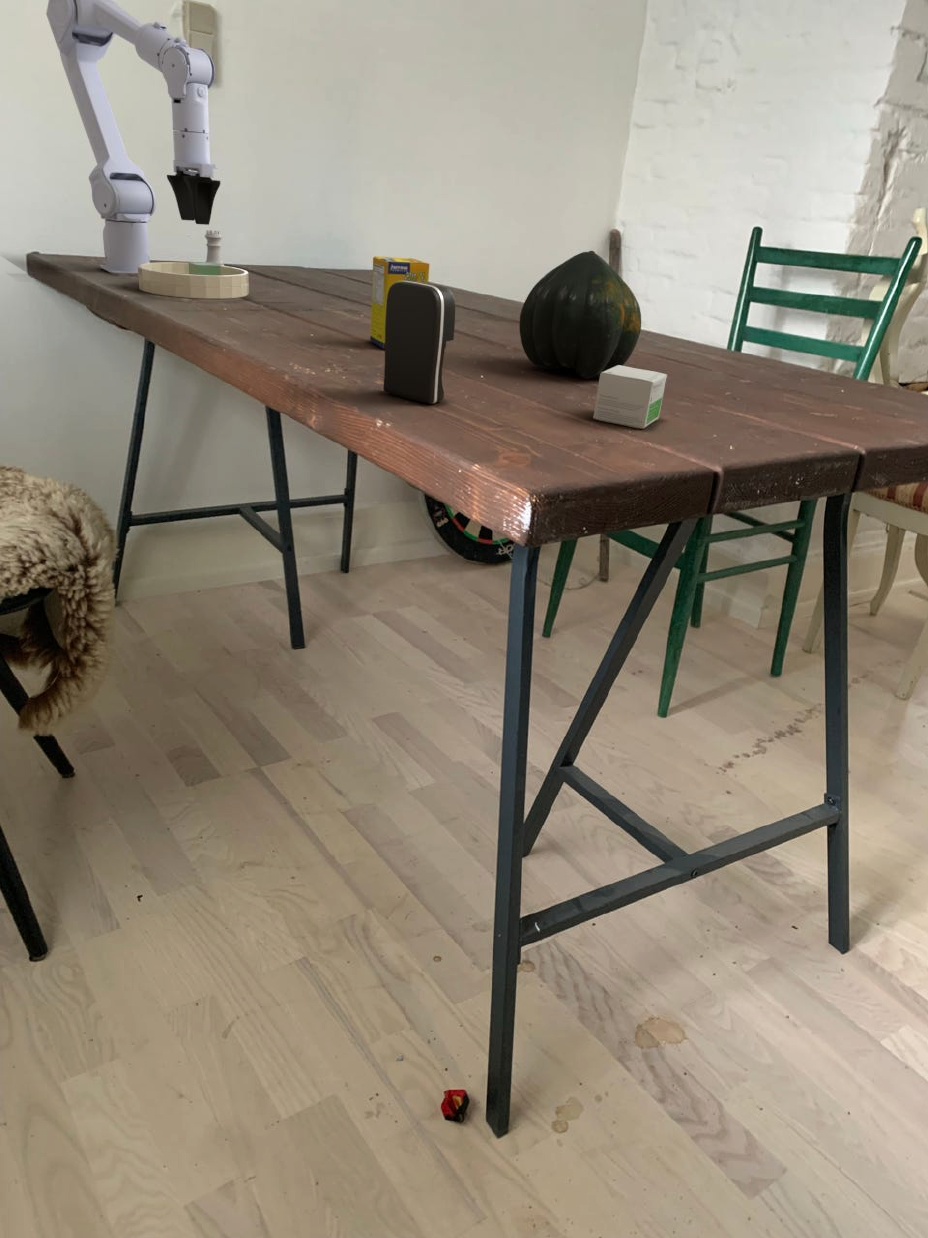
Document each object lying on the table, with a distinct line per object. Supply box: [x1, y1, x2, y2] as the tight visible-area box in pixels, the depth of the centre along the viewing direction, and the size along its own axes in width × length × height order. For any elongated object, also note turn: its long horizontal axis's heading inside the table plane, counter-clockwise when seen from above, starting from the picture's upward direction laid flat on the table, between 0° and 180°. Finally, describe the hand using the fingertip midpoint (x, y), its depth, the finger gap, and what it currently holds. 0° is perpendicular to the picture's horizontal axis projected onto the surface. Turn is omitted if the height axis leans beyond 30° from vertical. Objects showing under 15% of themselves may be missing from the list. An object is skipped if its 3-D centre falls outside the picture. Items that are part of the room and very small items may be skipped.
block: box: [188, 261, 221, 276], centre depth 151 cm, size 4×4×4 cm
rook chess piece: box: [204, 229, 225, 266], centre depth 171 cm, size 4×4×8 cm
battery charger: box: [383, 281, 456, 404], centre depth 93 cm, size 7×4×11 cm, turn 52°
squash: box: [519, 250, 642, 380], centre depth 113 cm, size 14×15×15 cm
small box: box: [592, 365, 668, 430], centre depth 93 cm, size 6×6×5 cm
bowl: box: [137, 261, 250, 300], centre depth 148 cm, size 17×17×4 cm
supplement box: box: [369, 255, 430, 350], centre depth 119 cm, size 6×6×11 cm
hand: (195, 222), depth 155 cm, fingers open, 7 cm apart
